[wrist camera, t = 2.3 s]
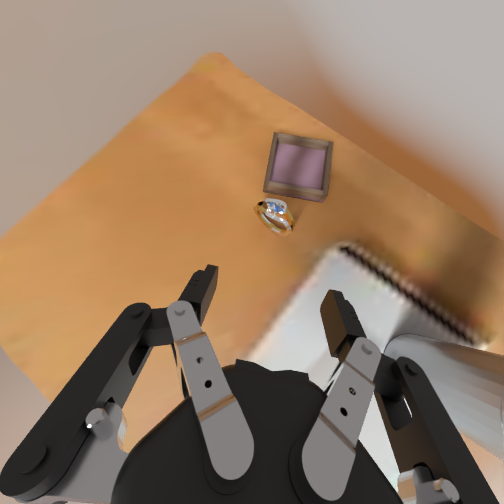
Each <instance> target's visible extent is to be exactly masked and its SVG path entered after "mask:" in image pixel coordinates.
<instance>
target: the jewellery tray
mask: <svg viewBox="0 0 504 504" xmlns="http://www.w3.org/2000/svg"><path fill="white" fill-rule="evenodd" d="M332 148H333V142H330V141H324V140H318V139H312V138H306V137H300V136H294V135H288V134H282V133H276V132H274V135H273V140H272V145H271V151H270V156H269V161H268V166H267V171H266V177H265V182H264V188H263V192H265V193H270V194H276V195H282V196H287V197H293V198H299V199H304V200H310V201H316V202H321V203H322V202H323V201H324V199H325V198H326V197H327V195H328V186H329V176H330V167H331V158H332Z"/></svg>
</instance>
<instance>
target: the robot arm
mask: <svg viewBox="0 0 504 504" xmlns="http://www.w3.org/2000/svg"><path fill="white" fill-rule="evenodd" d="M217 278H218V266H214V265H209V264H208V265H207V267H206V269H205V271H203V270H198V271H197V272H195V273H194V274H193V275H192V277H191V279H190V281H189V282H188V284H187V286H186V287H185V289H184V291H183V292H182V294H181V296H180V297H179V299H178V301H176V302H174V303H172V304H171V305H169V307H166V308H158V309H151V307H150V306H149V305H148V304H146V303H135V304H132V305H130V306H128V307H127V308H125V309H124V311H123V312H122V313H121V314H120V316H119V317H118V318H117V320H116V321H115V322H114V323H113V325H112V326H111V327H110V329H109V330H108V331H107V333H106V334H105V335H104V336H103V338H102V339H101V340H100V342H99V343H98V344H97V345H96V347H95V348H94V349H93V351H92V352H91V353H90V354H89V356H88V357H87V358H86V360H85V361H84V362H83V363H82V365H81V366H80V367H79V369H78V370H77V371H76V373H75V374H74V375H73V376H72V378H71V379H70V380H69V382H68V383H67V384H66V385H65V387H64V388H63V389H62V391H61V392H60V393H59V394H58V396H57V397H56V398H55V400H54V401H53V402H52V403H51V405H50V406H49V407H48V409H47V410H46V411H45V413H44V414H43V415H42V417H41V418H40V419H39V420H38V422H37V423H36V424H35V425H34V427H33V428H32V429H31V431H30V432H29V433H28V434H27V436H26V437H25V438H24V440H23V441H22V442H21V444H20V445H19V446H18V447H17V449H16V450H15V451H14V453H13V454H12V455H11V457H10V458H9V459H8V461H7V462H6V464H5V466H4V467H3V469H2V472H1V474H0V491H1V493H2V494H4V495H6V496H9V497H12V498H15V500H16V501H18V502H20V503H23V504H65V503H67V502H68V501H70V502H80V503H90V504H499V502H498V500H497V499H496V497H495V495H494V493H493V492H492V490H491V488H490V486H489V485H488V483H487V481H486V479H485V478H484V476H483V474H482V472H481V471H480V469H479V467H478V465H477V463H476V462H475V460H474V458H473V456H472V455H471V453H470V451H469V449H468V448H467V446H466V444H465V442H464V441H463V439H462V437H461V435H460V434H459V433H461V434H462V435H464V436H465V437H467V438H468V439H470V440H471V441H473V442H474V443H476V444H478V445H479V446H481V447H482V448H484V449H485V450H487V451H488V452H490V453H491V454H493V455H494V456H496V457H498V458H499V459H501V460H502V461H504V355H500V354H495V353H491V352H487V351H482V350H478V349H474V348H470V347H465V346H461V345H457V344H453V343H448V342H444V341H440V340H436V339H432V338H427V337H423V336H418V335H414V334H403V335H399V336H397V337H395V338H394V339H393V340H392V341H391V342H390V343H389V344H388V346H387V347H386V350H385V353H384V354H382V353H381V352H380V350H379V348H378V347H377V346H376V344H374V343H373V342H372V341H371V340H369V339H367V337H366V335H365V333H364V330H363V328H362V326H361V324H360V321H359V320H358V317H357V314H356V312H355V310H354V308H353V306H352V305H351V304H350V303H349V301H348V300H345V299H344V296H343V294H342V292H340V291H336V290H331V289H330V290H329V291H328V292H327V294H326V296H325V298H324V300H323V302H322V304H321V307H320V313H321V317H322V321H323V325H324V329H325V334H326V338H327V342H328V346H329V350H330V354H331V356H332V357H336V358H338V359H339V362H338V364H337V365H336V367H335V369H334V371H333V372H332V374H331V376H330V378H329V379H328V381H327V383H326V385H325V386H324V388H323V390H322V389H320V388H319V387H318V386H317V385H316V384H315V383H313V382H311V381H310V380H309V377H308V373H303V372H298V371H293V370H284V371H270V370H268V369H266V368H264V367H262V366H260V365H258V364H256V363H254V362H249V361H244V360H239V359H236V363H235V364H234V365H228V366H225V367H222V368H221V366H220V364H219V362H218V359H217V357H216V355H215V352H214V350H213V348H212V345H211V343H210V340H209V338H208V336H207V334H206V333H205V332H203V331H202V329H201V326H202V323H203V321H204V318H205V316H206V313H207V310H208V308H209V305H210V303H211V300H212V298H213V295H214V292H215V290H216V286H217ZM169 344H170V346H171V349H172V353H173V357H174V361H175V365H176V369H177V373H178V379H179V384H180V388H181V392H182V396H183V401H182V402H181V403H180V404H179V405H178V406H177V407H176V408H175V409H174V410H172V411H171V412H170V413H169V414H168V415H167V416H166V417H165V418H164V419H163V420H162V421H160V422H159V423H158V424H157V425H156V426H155V427H154V428H153V429H152V430H151V431H150V432H148V433H147V434H146V435H145V436H144V437H143V438H142V439H141V440H140V441H139V442H138V443H137V444H136V445H135V446H134V448H133V449H132V450H131V452H130V453H126V452H124V451H123V440H124V436H125V433H126V430H127V420H126V418H125V416H124V413H123V411H122V408H123V406H124V404H125V402H126V400H127V398H128V396H129V394H130V392H131V390H132V388H133V386H134V384H135V382H136V380H137V378H138V376H139V374H140V372H141V370H142V368H143V366H144V364H145V362H146V360H147V358H148V356H149V354H150V352H151V350H152V349H153V347H154V346H161V345H169ZM373 392H374V395H375V398H376V401H377V404H378V407H379V410H380V413H381V416H382V419H383V422H384V425H385V428H386V432H387V435H388V438H389V441H390V444H391V447H392V450H393V453H394V456H395V459H396V462H397V465H398V468H399V471H400V475H399V476H398V490H399V491H398V493H397V492H396V490H395V489H394V488H393V486H392V485H391V484H390V482H389V481H388V479H387V478H386V477H385V475H384V474H383V472H382V471H381V470H380V468H379V467H378V465H377V464H376V463H375V461H374V460H373V459H372V457H371V456H370V455H369V453H368V452H367V450H366V449H365V448H364V447H363V445H362V443H361V442H360V440H359V439H358V437H359V434H360V431H361V428H362V425H363V422H364V419H365V416H366V413H367V410H368V407H369V403H370V401H371V398H372V395H373ZM404 398H405V399H406V401H407V404H408V406H409V408H410V410H411V413H412V417H411V415H410V412H409V410H408V408H407V405H406V403H405V401H404Z"/></svg>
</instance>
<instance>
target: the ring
mask: <svg viewBox="0 0 504 504" xmlns="http://www.w3.org/2000/svg"><path fill="white" fill-rule="evenodd" d="M263 204H266V205H267V207H268V209H265V208H263V207H261V205H263ZM281 207H282V208H283V209H282V208H281ZM254 211H255V213H256V214H257V216H258V217H259V218H260V220H261V221H262V222H263V223H264V224H265V225H266V226H267V227H268V229H270V230H272V231H273V232H275V233H277V234H279V235H281V236H288V235H289V234H290V233H291V232H292V231H293V229H294V227H295V223H294V219H293V217H292V215H291V213H290V212H289V211H288V209H287V205H286V203H285V202H283V201H281V200H278V199H270V198H266V199H262V200H260V201H259V202H258V203H257V205H256V206H255V207H254ZM262 212H264V213H265V214H266V215H267V216H268V217H270V218H272V219H274V220H276V221H279V222H281V223H282V224H283V225H284V226H285V227H286V230H282V229H279V228H277V227H276V226H275V225H274V224H273V223H272V222H269V221H268V220H267V218H266V217H265V216H264V215H263V213H262ZM271 213H273V214H271ZM276 214H280V216H283V215H284V216H285V218H286V219H287V221H288V222H287V221H286V220H284V219H282V218H280V217H278V216H276Z"/></svg>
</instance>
